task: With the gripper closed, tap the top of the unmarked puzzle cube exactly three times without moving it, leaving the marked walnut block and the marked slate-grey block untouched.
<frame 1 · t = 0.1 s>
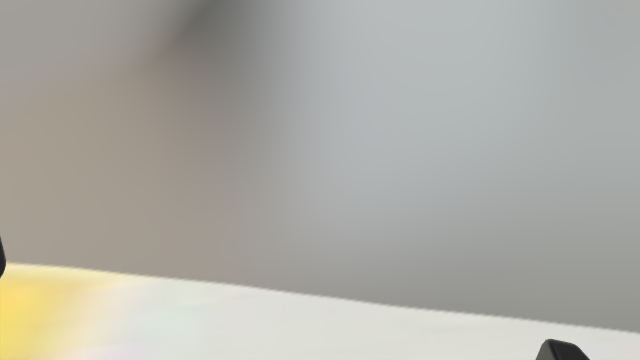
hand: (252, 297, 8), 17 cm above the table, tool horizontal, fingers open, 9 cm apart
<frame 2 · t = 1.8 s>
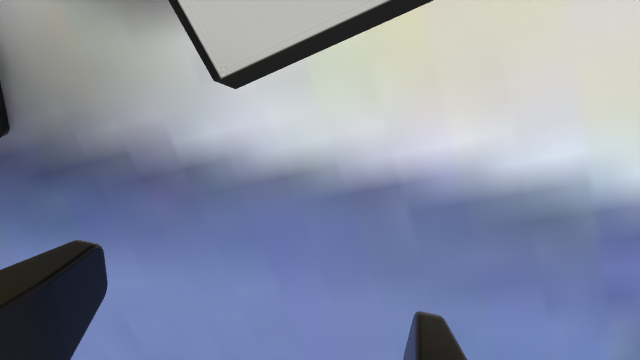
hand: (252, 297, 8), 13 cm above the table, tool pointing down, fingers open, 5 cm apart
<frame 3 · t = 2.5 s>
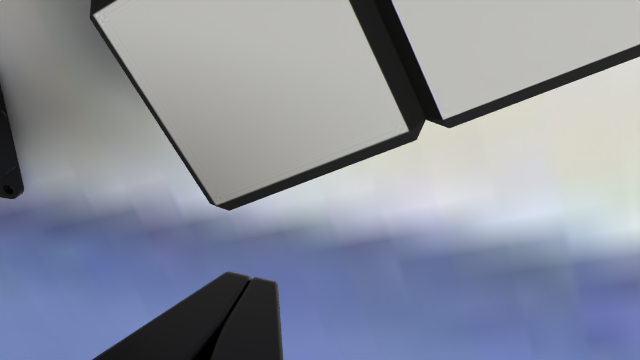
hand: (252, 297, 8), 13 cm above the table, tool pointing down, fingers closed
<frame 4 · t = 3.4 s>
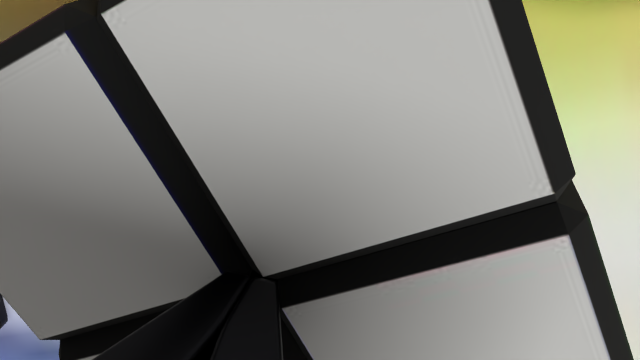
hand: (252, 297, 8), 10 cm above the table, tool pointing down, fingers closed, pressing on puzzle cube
puzzle cube: (347, 92, 17), on the table, touching gripper
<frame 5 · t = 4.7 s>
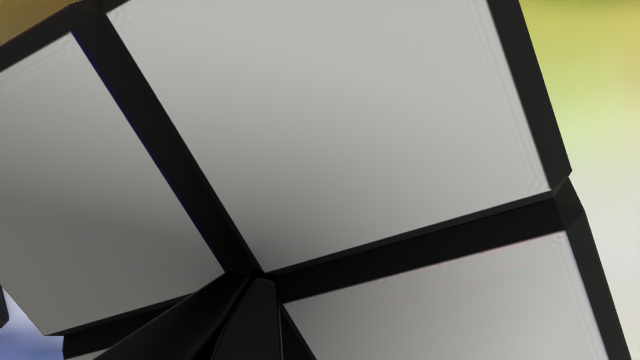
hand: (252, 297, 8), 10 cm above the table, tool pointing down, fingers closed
puzzle cube: (347, 91, 17), on the table
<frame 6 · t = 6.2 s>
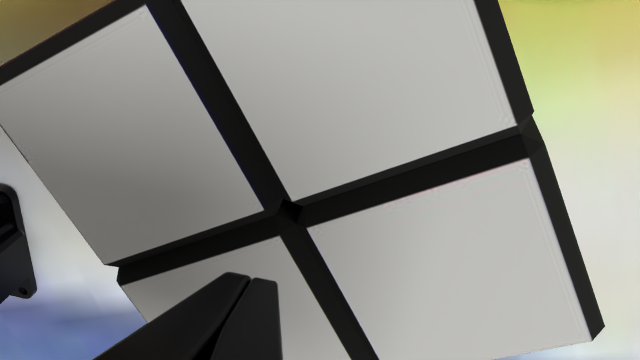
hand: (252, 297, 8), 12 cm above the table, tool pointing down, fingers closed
puzzle cube: (352, 72, 19), on the table
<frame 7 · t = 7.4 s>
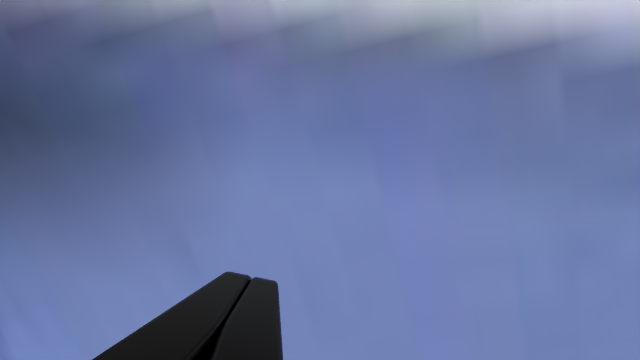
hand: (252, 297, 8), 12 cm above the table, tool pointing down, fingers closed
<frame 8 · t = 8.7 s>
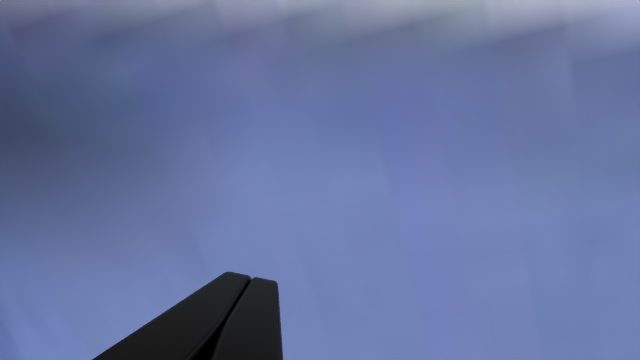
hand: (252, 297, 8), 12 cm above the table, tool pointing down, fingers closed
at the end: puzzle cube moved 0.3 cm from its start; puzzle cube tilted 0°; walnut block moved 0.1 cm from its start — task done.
